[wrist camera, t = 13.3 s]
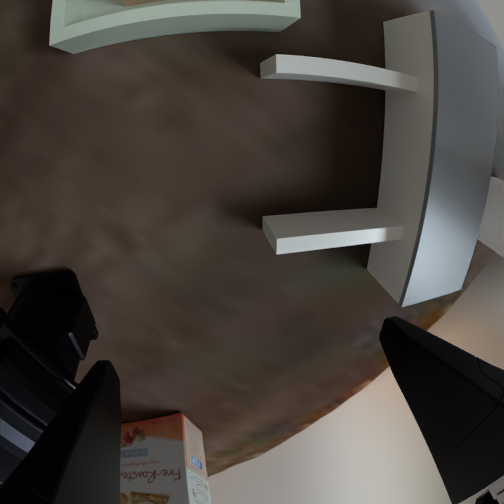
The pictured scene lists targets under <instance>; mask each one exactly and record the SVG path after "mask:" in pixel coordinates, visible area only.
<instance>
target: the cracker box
mask: <svg viewBox="0 0 504 504" xmlns="http://www.w3.org/2000/svg"><path fill="white" fill-rule="evenodd" d="M120 492H121V504H212V503H211V496H210V490H209V483H208V476H207V470H206V462H205V454H204V447H203V438H202V432H201V430H199V429H198V428H197V427H196V426H195V425H194V424H193V423H192V422H191V421H190V420H189V419H188V418H187V417H186V416H185V415H184V414H183V413H177V414H173V415H168V416H163V417H158V418H153V419H148V420H142V421H136V422H130V423H124V424H122V426H121V455H120Z"/></svg>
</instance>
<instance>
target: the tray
mask: <svg viewBox="0 0 504 504" xmlns="http://www.w3.org/2000/svg"><path fill="white" fill-rule="evenodd" d="M300 18H301V15H300V0H166V1H158V2H151V3H145V4H139V5H133V6H128V7H126V5H125V4H124V2H123V1H122V0H53V3H52V12H51V24H50V41H49V46H52V47H55V48H58V49H61V50H64V51H66V52H69V53H72V54H76V53H80V52H83V51H87V50H90V49H94V48H98V47H102V46H106V45H111V44H115V43H120V42H125V41H130V40H136V39H142V38H148V37H155V36H162V35H170V34H180V33H191V32H207V31H267V32H281V31H283V30H284V29H285V28H287V27H288V26H290V25H291V24H292V23H294V22H295V21H297V20H298V19H300Z"/></svg>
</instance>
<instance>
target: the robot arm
mask: <svg viewBox="0 0 504 504" xmlns="http://www.w3.org/2000/svg"><path fill="white" fill-rule="evenodd" d="M67 276H69V277H71V279H69V278H68V277H67ZM14 282H15V283H16V284H17V285H16V284H15V283H14ZM10 285H11V288H12V290H13V292H14V295H15V297H16V300H15V302H14V303H13V305H12V306H11V308H10V310H9V311H8V313H6V312H5V311H4V309H3V308H2V307H1V308H0V504H121V492H120V455H121V426H122V424H121V403H120V380H119V377H118V375H117V373H116V371H115V369H114V367H113V365H112V363H111V362H110V361H109V360H99V361H97V362H96V363H95V364H94V365H93V367H92V368H91V369H90V371H89V372H88V373H87V374H86V376H85V377H84V378H83V379H82V381H81V382H80V383H79V384H78V383H76V382H75V381H74V380H75V376H76V373H77V369H78V365H79V361H80V360H84V359H85V357H86V354H87V350H88V346H89V343H90V340H96V339H97V337H98V331H97V329H96V326H95V320H94V317H93V315H92V313H91V310H90V307H89V305H88V302H87V300H86V298H85V297H84V296H83V294H82V291H81V288H80V286H79V283H78V280H77V277H76V275H75V273H74V272H72V271H69V270H68V271H59V272H51V273H43V274H34V275H26V276H18V277H13V278H12V279H11V281H10ZM92 334H94V335H92ZM379 339H380V343H381V345H382V348H383V350H384V353H385V355H386V358H387V360H388V363H389V365H390V368H391V370H392V373H393V375H394V377H395V379H396V381H397V383H398V385H399V387H400V389H401V391H402V393H403V395H404V397H405V399H406V401H407V403H408V405H409V407H410V409H411V411H412V413H413V415H414V417H415V420H416V421H417V424H418V426H419V428H420V430H421V432H422V434H423V437H424V439H425V441H426V443H427V445H428V447H429V450H430V452H431V454H432V456H433V459H434V461H435V463H436V466H437V468H438V470H439V473H440V475H441V478H442V480H443V482H444V485H445V487H446V490H447V492H448V495H449V497H450V500H451V502H452V504H458V503H460V502H462V501H464V500H466V499H467V498H469V497H471V496H473V495H474V494H476V493H478V492H479V491H481V490H482V489H484V488H486V487H487V488H488V490H487V491H486V492H484V493H483V494H482V495H481V496H479V497H478V498H477V499H476V503H475V504H504V370H502V369H500V368H498V367H496V366H493V365H491V364H489V363H487V362H485V361H483V360H481V359H479V358H478V357H475V356H474V355H472V354H470V353H468V352H466V351H464V350H462V349H460V348H458V347H456V346H454V345H452V344H451V343H448V342H447V341H445V340H443V339H441V338H439V337H437V336H435V335H433V334H431V333H429V332H427V331H425V330H423V329H421V328H420V327H418V326H416V325H414V324H412V323H410V322H408V321H406V320H404V319H402V318H400V317H398V316H391V317H387V318H386V319H385V320H384V323H383V326H382V329H381V332H380V335H379Z"/></svg>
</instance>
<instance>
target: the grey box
mask: <svg viewBox="0 0 504 504" xmlns="http://www.w3.org/2000/svg"><path fill="white" fill-rule="evenodd" d="M122 1H123V2H124V4H125V5H126V7H128V6H133V5H139V4H145V3H151V2H158V1H166V0H122Z"/></svg>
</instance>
